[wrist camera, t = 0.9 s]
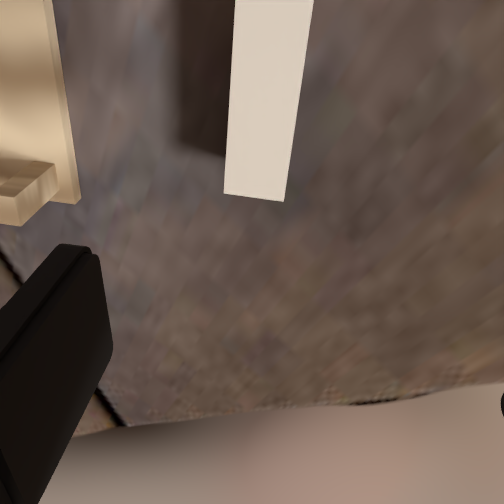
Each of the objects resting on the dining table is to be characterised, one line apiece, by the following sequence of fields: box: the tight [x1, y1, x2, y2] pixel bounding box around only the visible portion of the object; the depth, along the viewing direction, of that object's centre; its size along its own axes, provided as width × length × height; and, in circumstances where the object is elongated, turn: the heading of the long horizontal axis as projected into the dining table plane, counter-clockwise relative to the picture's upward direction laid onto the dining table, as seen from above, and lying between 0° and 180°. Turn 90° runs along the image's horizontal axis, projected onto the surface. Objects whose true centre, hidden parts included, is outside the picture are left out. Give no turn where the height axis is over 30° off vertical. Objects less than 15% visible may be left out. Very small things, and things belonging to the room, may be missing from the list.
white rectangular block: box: [224, 0, 314, 202], centre depth 23 cm, size 16×4×5 cm, turn 175°
